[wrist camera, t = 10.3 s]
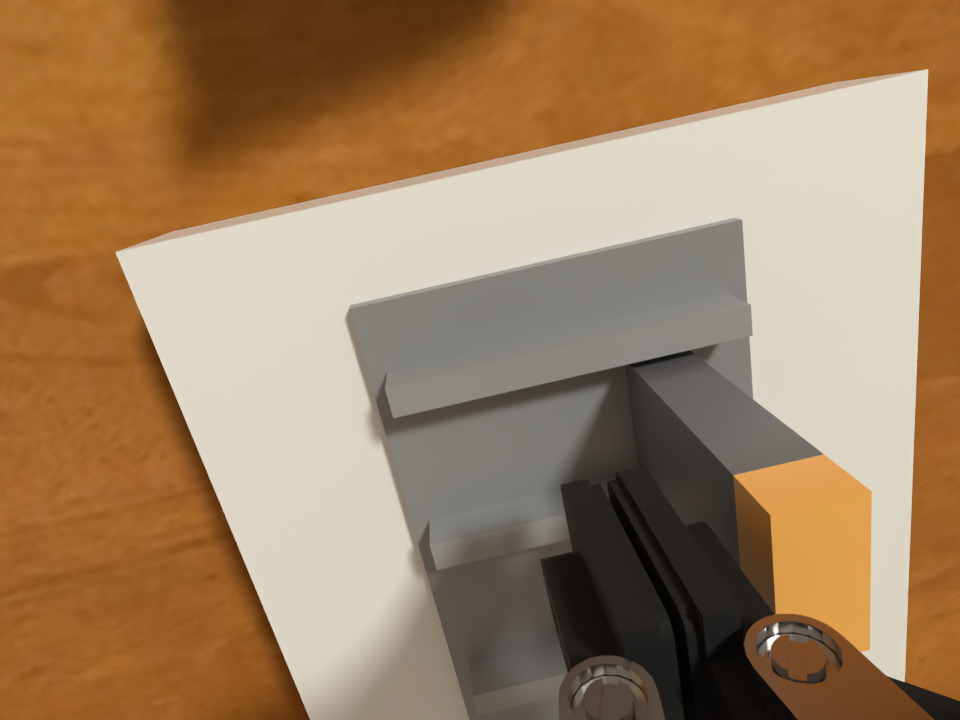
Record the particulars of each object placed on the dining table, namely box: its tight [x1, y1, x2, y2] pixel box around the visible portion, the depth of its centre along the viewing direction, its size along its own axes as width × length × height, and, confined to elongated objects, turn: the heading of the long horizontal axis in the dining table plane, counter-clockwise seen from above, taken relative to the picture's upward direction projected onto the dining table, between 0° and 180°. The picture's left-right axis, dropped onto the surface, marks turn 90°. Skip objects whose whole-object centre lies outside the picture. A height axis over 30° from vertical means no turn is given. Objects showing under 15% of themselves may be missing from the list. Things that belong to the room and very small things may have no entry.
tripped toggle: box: [626, 350, 872, 652], centre depth 13 cm, size 2×3×7 cm, turn 12°
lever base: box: [116, 69, 928, 720], centre depth 17 cm, size 20×24×11 cm
